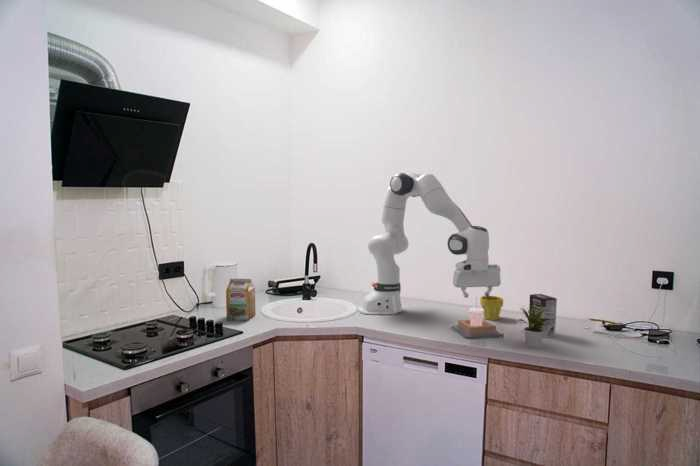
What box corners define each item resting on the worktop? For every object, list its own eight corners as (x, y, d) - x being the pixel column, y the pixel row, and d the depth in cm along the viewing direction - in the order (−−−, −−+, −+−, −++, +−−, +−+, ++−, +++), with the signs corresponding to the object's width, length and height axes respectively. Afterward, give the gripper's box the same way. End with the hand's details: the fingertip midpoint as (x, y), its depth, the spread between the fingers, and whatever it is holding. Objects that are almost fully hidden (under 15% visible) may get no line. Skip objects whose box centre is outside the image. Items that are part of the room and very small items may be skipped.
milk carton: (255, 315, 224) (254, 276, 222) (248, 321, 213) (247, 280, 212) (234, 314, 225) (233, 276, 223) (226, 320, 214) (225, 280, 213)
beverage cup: (472, 327, 199) (473, 295, 198) (486, 329, 195) (486, 297, 194) (466, 330, 194) (466, 297, 193) (479, 332, 190) (480, 299, 189)
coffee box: (527, 331, 196) (528, 294, 194) (539, 330, 198) (540, 293, 197) (543, 337, 187) (545, 298, 186) (556, 336, 189) (557, 297, 188)
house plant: (515, 350, 172) (516, 307, 170) (507, 339, 185) (508, 299, 184) (555, 352, 170) (556, 308, 168) (544, 340, 183) (546, 300, 182)
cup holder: (466, 338, 186) (466, 329, 185) (451, 327, 201) (451, 318, 201) (503, 336, 188) (503, 327, 188) (485, 326, 204) (485, 317, 204)
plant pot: (498, 322, 210) (498, 301, 210) (476, 318, 216) (476, 298, 216) (505, 317, 218) (506, 297, 218) (484, 314, 225) (485, 294, 224)
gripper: (496, 263, 198) (495, 294, 199) (451, 264, 194) (450, 296, 195) (504, 265, 191) (502, 298, 193) (457, 266, 188) (456, 299, 189)
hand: (476, 297), depth 194 cm, fingers open, 8 cm apart
